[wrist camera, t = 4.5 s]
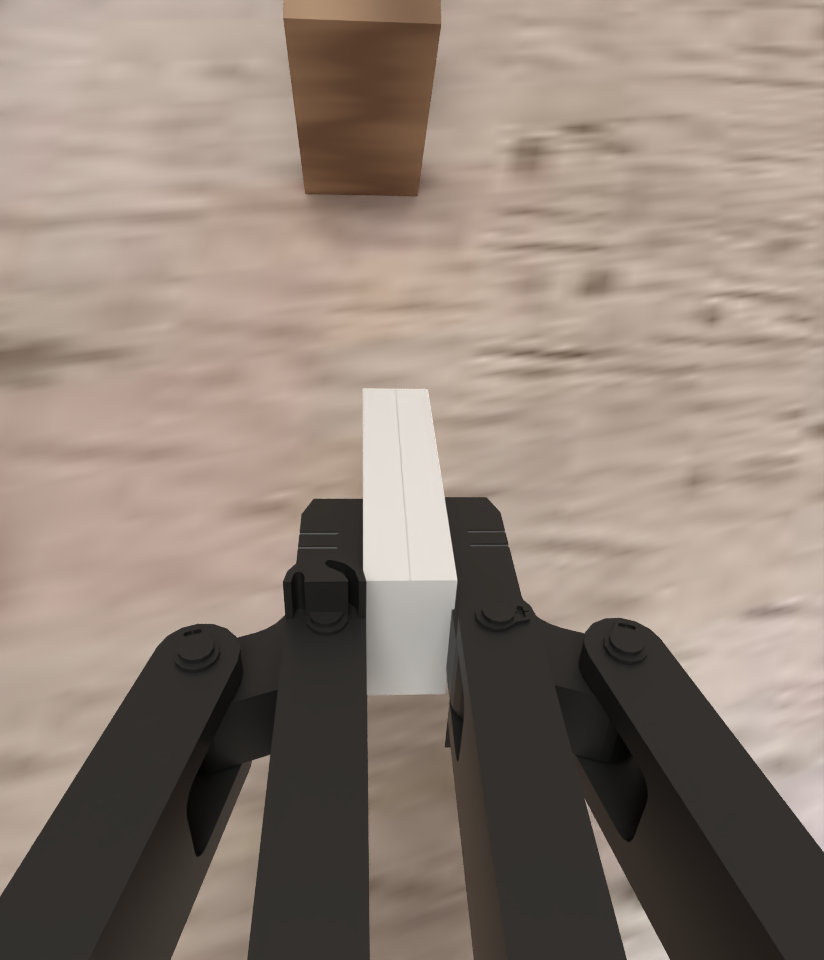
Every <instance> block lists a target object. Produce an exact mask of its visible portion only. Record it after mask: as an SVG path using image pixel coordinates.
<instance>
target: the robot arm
mask: <svg viewBox="0 0 824 960" xmlns="http://www.w3.org/2000/svg"><path fill="white" fill-rule="evenodd" d="M283 590H284V603H285V616H284V617H283V618H282V619H281V620H279V621H278V622H277V623H276V624H274V625H272V626H271V627H269V628H267V629H265V630H262V631H259V632H257V633H253V634H250V635H246V636H242V637H238V638H237V637H236V636H235V635H233V634H232V633H231V632H230V631H229V630H228V629H226V628H223V627H220V626H217V625H215V624H195V625H192V626H188V627H184V628H181V629H179V630H177V631H175V632H174V633H172V634H170V635H168V636H167V637H166V638H165V639H164V640H163V641H162V642H161V643H160V644H159V646H158V647H157V648H156V650H155V651H154V653H153V654H152V656H151V658H150V659H149V661H148V662H147V664H146V666H145V667H144V669H143V670H142V672H141V673H140V675H139V677H138V678H137V680H136V681H135V683H134V685H133V686H132V688H131V689H130V691H129V693H128V694H127V696H126V697H125V699H124V701H123V702H122V704H121V705H120V707H119V708H118V710H117V712H116V713H115V715H114V716H113V718H112V720H111V721H110V723H109V724H108V726H107V728H106V729H105V731H104V732H103V734H102V736H101V737H100V739H99V740H98V742H97V744H96V745H95V747H94V748H93V750H92V751H91V753H90V755H89V756H88V758H87V759H86V761H85V763H84V764H83V766H82V767H81V769H80V771H79V772H78V774H77V775H76V777H75V779H74V780H73V782H72V783H71V785H70V787H69V788H68V790H67V791H66V793H65V794H64V796H63V798H62V799H61V801H60V802H59V804H58V806H57V807H56V809H55V810H54V812H53V814H52V815H51V817H50V818H49V820H48V822H47V823H46V825H45V826H44V828H43V829H42V831H41V833H40V834H39V836H38V837H37V839H36V841H35V842H34V844H33V845H32V847H31V849H30V850H29V852H28V853H27V855H26V857H25V858H24V860H23V861H22V863H21V865H20V866H19V868H18V869H17V871H16V872H15V874H14V876H13V877H12V879H11V880H10V882H9V884H8V885H7V887H6V888H5V890H4V892H3V893H2V895H1V896H0V960H171V957H172V955H173V952H174V950H175V948H176V945H177V943H178V940H179V938H180V936H181V933H182V931H183V928H184V926H185V924H186V921H187V919H188V916H189V914H190V912H191V909H192V907H193V904H194V902H195V899H196V897H197V895H198V892H199V890H200V887H201V885H202V883H203V880H204V878H205V875H206V873H207V871H208V868H209V866H210V863H211V861H212V859H213V856H214V854H215V851H216V849H217V846H218V844H219V842H220V839H221V837H222V834H223V832H224V830H225V827H226V825H227V822H228V820H229V818H230V815H231V813H232V810H233V808H234V806H235V803H236V801H237V798H238V796H239V794H240V791H241V789H242V786H243V784H244V781H245V779H246V777H247V774H248V772H249V769H250V767H251V763H252V760H255V759H258V758H261V757H264V756H267V755H270V754H271V755H270V764H269V772H268V781H267V790H266V799H265V808H264V817H263V826H262V835H261V843H260V852H259V861H258V870H257V879H256V888H255V897H254V906H253V915H252V923H251V932H250V941H249V950H248V959H247V960H370V944H369V846H368V748H367V695H424V694H446V689H447V680H448V688H449V697H450V703H449V712H448V722H447V731H446V741H445V747H451V754H452V763H453V772H454V781H455V790H456V800H457V809H458V818H459V827H460V836H461V845H462V854H463V863H464V872H465V881H466V891H467V900H468V909H469V918H470V927H471V936H472V945H473V954H474V960H627V959H626V955H625V951H624V947H623V943H622V940H621V936H620V932H619V928H618V924H617V921H616V917H615V913H614V909H613V905H612V902H611V898H610V894H609V890H608V886H607V883H606V879H605V875H604V871H603V867H602V864H601V860H600V856H599V852H598V848H597V845H596V841H595V837H594V833H593V829H592V826H591V822H590V818H589V814H588V810H587V807H586V803H585V800H586V802H587V804H588V805H589V807H590V809H591V811H592V813H593V815H594V817H595V819H596V821H597V822H598V824H599V826H600V828H601V830H602V832H603V834H604V836H605V838H606V839H607V841H608V843H609V845H610V847H611V849H612V851H613V853H614V854H615V856H616V858H617V860H618V862H619V864H620V866H621V868H622V870H623V871H624V873H625V875H626V877H627V879H628V881H629V883H630V885H631V887H632V888H633V890H634V892H635V894H636V896H637V898H638V900H639V902H640V903H641V905H642V907H643V909H644V911H645V913H646V915H647V917H648V919H649V920H650V922H651V924H652V926H653V928H654V930H655V932H656V934H657V936H658V937H659V939H660V941H661V943H662V945H663V947H664V949H665V951H666V952H667V954H668V956H669V958H670V960H824V852H823V851H822V849H821V848H820V847H819V846H818V844H817V843H816V842H815V840H814V839H813V838H812V836H811V835H810V834H809V832H808V831H807V830H806V829H805V827H804V826H803V825H802V823H801V822H800V821H799V819H798V818H797V817H796V815H795V814H794V813H793V812H792V810H791V809H790V808H789V806H788V805H787V804H786V802H785V801H784V800H783V798H782V797H781V796H780V795H779V793H778V792H777V791H776V789H775V788H774V787H773V785H772V784H771V783H770V781H769V780H768V779H767V778H766V776H765V775H764V774H763V772H762V771H761V770H760V768H759V767H758V766H757V764H756V763H755V762H754V761H753V759H752V758H751V757H750V755H749V754H748V753H747V751H746V750H745V749H744V747H743V746H742V745H741V744H740V742H739V741H738V740H737V738H736V737H735V736H734V734H733V733H732V732H731V730H730V729H729V728H728V727H727V725H726V724H725V723H724V721H723V720H722V719H721V717H720V716H719V715H718V713H717V712H716V711H715V710H714V708H713V707H712V706H711V704H710V703H709V702H708V700H707V699H706V698H705V696H704V695H703V694H702V693H701V691H700V690H699V689H698V687H697V686H696V685H695V683H694V682H693V681H692V679H691V678H690V677H689V676H688V674H687V673H686V672H685V670H684V669H683V668H682V666H681V665H680V664H679V662H678V661H677V660H676V659H675V657H674V656H673V655H672V653H671V652H670V651H669V649H668V648H667V647H666V645H665V644H664V643H663V641H662V640H661V639H660V638H659V637H658V636H657V635H656V634H655V633H654V632H653V631H651V630H650V629H649V628H647V627H645V626H643V625H641V624H639V623H637V622H635V621H631V620H627V619H622V618H606V619H603V620H600V621H598V622H595V623H593V624H592V625H591V626H590V627H589V629H588V630H587V631H586V632H585V633H580V632H576V631H572V630H568V629H564V628H560V627H557V626H554V625H551V624H549V623H547V622H545V621H543V620H541V619H540V618H538V617H537V616H536V615H535V613H534V611H533V609H532V607H531V606H530V605H529V604H528V603H526V602H525V601H524V600H523V598H522V596H521V592H520V588H519V584H518V580H517V576H516V572H515V568H514V564H513V560H512V556H511V552H510V549H509V547H508V541H507V537H506V533H505V529H504V525H503V521H502V517H501V513H500V512H499V510H498V509H497V508H496V507H495V506H494V505H493V504H492V503H491V502H490V501H489V500H488V498H487V497H444V491H443V484H442V478H441V471H440V465H439V458H438V452H437V445H436V439H435V432H434V426H433V419H432V413H431V407H430V400H429V394H428V389H374V388H363V477H362V499H313V500H312V502H311V503H310V504H309V506H308V507H307V508H306V509H305V511H304V512H303V513H302V516H301V525H300V535H299V544H298V553H297V562H296V564H295V565H294V566H293V567H292V568H291V569H289V570H288V571H287V573H286V576H285V578H284V581H283ZM584 798H585V799H584Z"/></svg>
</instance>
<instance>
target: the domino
mask: <svg viewBox="0 0 824 960" xmlns="http://www.w3.org/2000/svg"><path fill="white" fill-rule="evenodd" d="M283 19H284V27H285V35H286V43H287V51H288V59H289V67H290V75H291V83H292V91H293V99H294V107H295V115H296V123H297V131H298V139H299V147H300V155H301V163H302V171H303V179H304V187H305V194H351V195H400V196H417V194H418V187H419V180H420V172H421V165H422V158H423V151H424V144H425V137H426V129H427V122H428V115H429V108H430V101H431V94H432V86H433V79H434V72H435V65H436V58H437V50H438V43H439V36H440V29H441V1H440V0H284V7H283Z"/></svg>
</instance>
